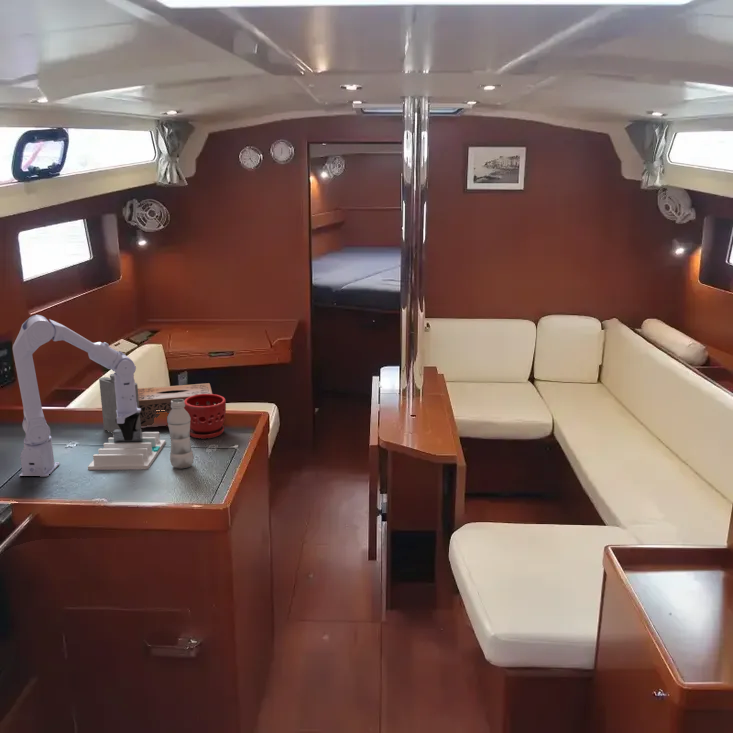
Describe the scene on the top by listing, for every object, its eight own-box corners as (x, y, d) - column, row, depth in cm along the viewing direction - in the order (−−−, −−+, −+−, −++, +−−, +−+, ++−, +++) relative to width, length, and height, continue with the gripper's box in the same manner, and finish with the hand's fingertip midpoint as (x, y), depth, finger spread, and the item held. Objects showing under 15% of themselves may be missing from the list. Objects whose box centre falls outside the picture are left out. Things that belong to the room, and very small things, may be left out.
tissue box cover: (135, 429, 246) (132, 401, 243) (136, 416, 259) (133, 388, 257) (214, 422, 253) (212, 394, 250) (211, 410, 266) (209, 383, 263)
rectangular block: (141, 450, 224) (139, 431, 222) (114, 450, 224) (112, 431, 222) (143, 447, 226) (141, 429, 224) (116, 448, 226) (115, 429, 224)
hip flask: (143, 435, 240) (138, 375, 235) (134, 439, 236) (128, 379, 231) (109, 427, 248) (104, 369, 242) (99, 430, 244) (94, 372, 239)
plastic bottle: (188, 472, 211) (183, 404, 206) (166, 470, 212) (161, 403, 207) (198, 463, 217) (193, 398, 212) (176, 461, 218) (171, 396, 213)
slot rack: (147, 469, 213) (146, 456, 212) (88, 469, 213) (86, 456, 212) (165, 443, 233) (164, 430, 232) (111, 443, 233) (109, 431, 232)
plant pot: (178, 439, 236) (175, 403, 233) (199, 426, 249) (196, 391, 246) (215, 443, 233) (213, 407, 230) (234, 429, 245) (232, 395, 242)
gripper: (132, 402, 213) (136, 447, 217) (145, 388, 228) (149, 430, 231) (107, 402, 213) (111, 447, 217) (122, 388, 227) (126, 430, 231)
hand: (129, 438), depth 224 cm, fingers closed on rectangular block, 2 cm apart
